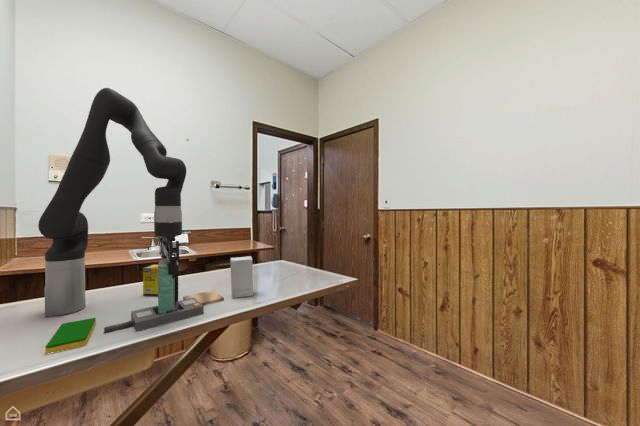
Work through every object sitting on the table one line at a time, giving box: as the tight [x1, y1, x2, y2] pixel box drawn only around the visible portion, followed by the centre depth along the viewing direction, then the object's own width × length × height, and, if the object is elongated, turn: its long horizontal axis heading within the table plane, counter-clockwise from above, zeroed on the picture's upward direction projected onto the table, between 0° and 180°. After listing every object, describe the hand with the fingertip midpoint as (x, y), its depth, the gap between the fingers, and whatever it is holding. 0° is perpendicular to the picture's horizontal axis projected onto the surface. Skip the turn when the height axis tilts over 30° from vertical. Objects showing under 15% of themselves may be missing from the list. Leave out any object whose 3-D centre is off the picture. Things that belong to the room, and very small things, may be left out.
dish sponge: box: [45, 317, 97, 354], centre depth 67 cm, size 7×14×2 cm, turn 34°
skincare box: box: [230, 255, 254, 299], centre depth 100 cm, size 8×6×15 cm
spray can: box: [157, 256, 179, 316], centre depth 80 cm, size 6×6×20 cm
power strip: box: [103, 298, 205, 333], centre depth 78 cm, size 24×10×3 cm, turn 133°
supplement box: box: [142, 264, 158, 297], centre depth 100 cm, size 6×6×11 cm
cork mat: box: [182, 289, 225, 306], centre depth 94 cm, size 11×11×1 cm
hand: (169, 271), depth 80 cm, fingers open, 8 cm apart
